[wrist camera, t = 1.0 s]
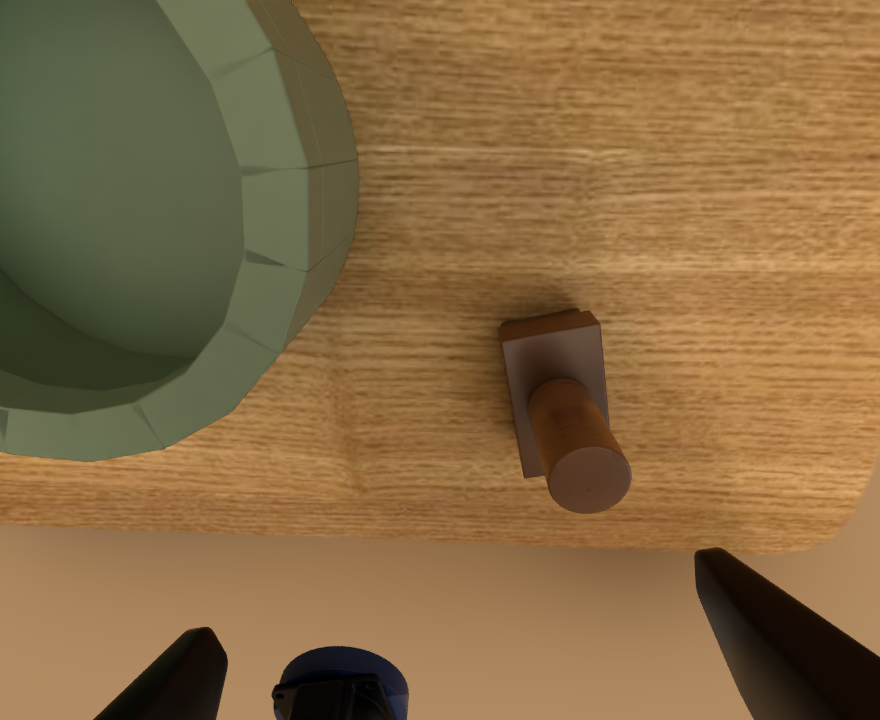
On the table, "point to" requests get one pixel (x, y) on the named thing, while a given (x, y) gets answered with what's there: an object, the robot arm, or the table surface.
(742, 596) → the robot arm
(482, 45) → the table surface
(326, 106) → the bowl
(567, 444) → the stamp
